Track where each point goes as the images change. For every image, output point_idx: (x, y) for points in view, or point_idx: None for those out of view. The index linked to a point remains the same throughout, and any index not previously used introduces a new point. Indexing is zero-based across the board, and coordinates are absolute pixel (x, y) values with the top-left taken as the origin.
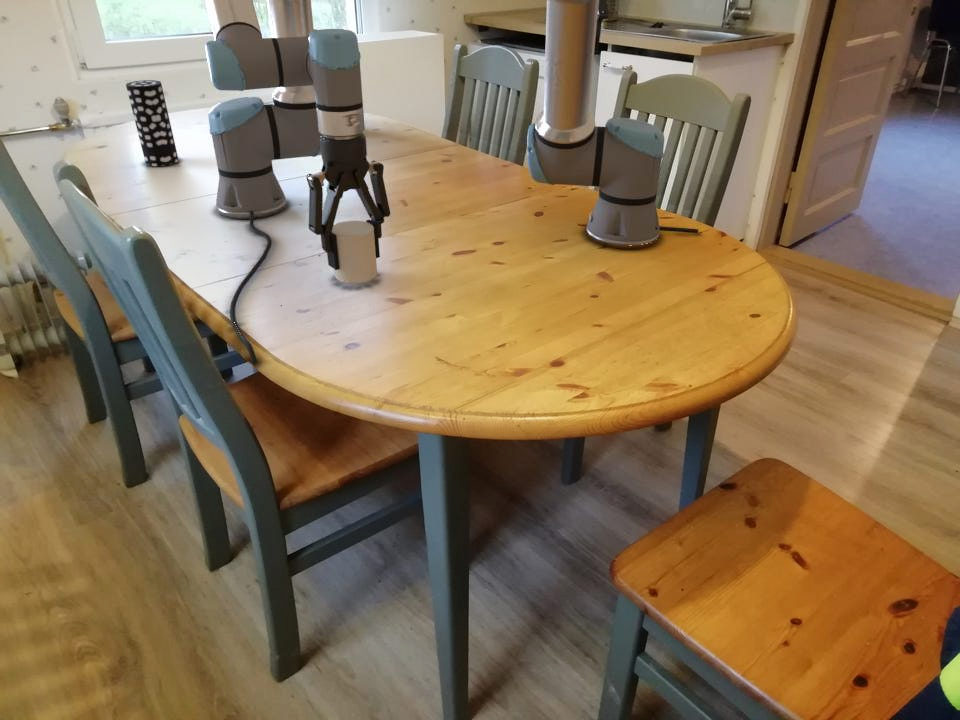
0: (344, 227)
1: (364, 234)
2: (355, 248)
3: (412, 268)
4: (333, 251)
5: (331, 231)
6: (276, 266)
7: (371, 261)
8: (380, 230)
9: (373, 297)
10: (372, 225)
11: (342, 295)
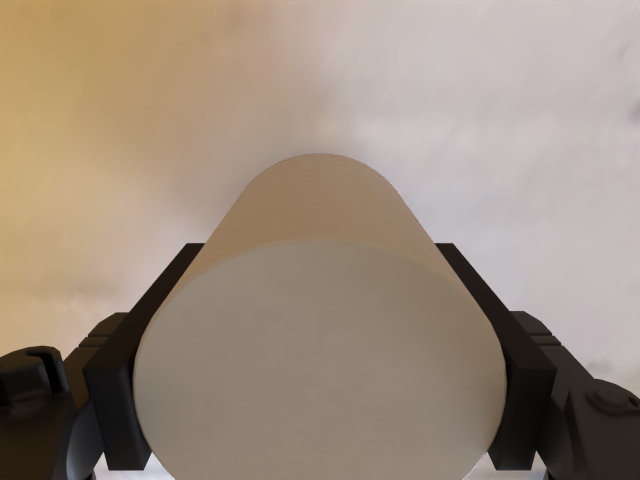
0: (355, 454)
1: (297, 245)
2: (386, 216)
3: (60, 185)
4: (493, 298)
5: (577, 403)
6: (481, 470)
7: (272, 181)
8: (88, 344)
9: (355, 32)
10: (134, 372)
11: (449, 143)
